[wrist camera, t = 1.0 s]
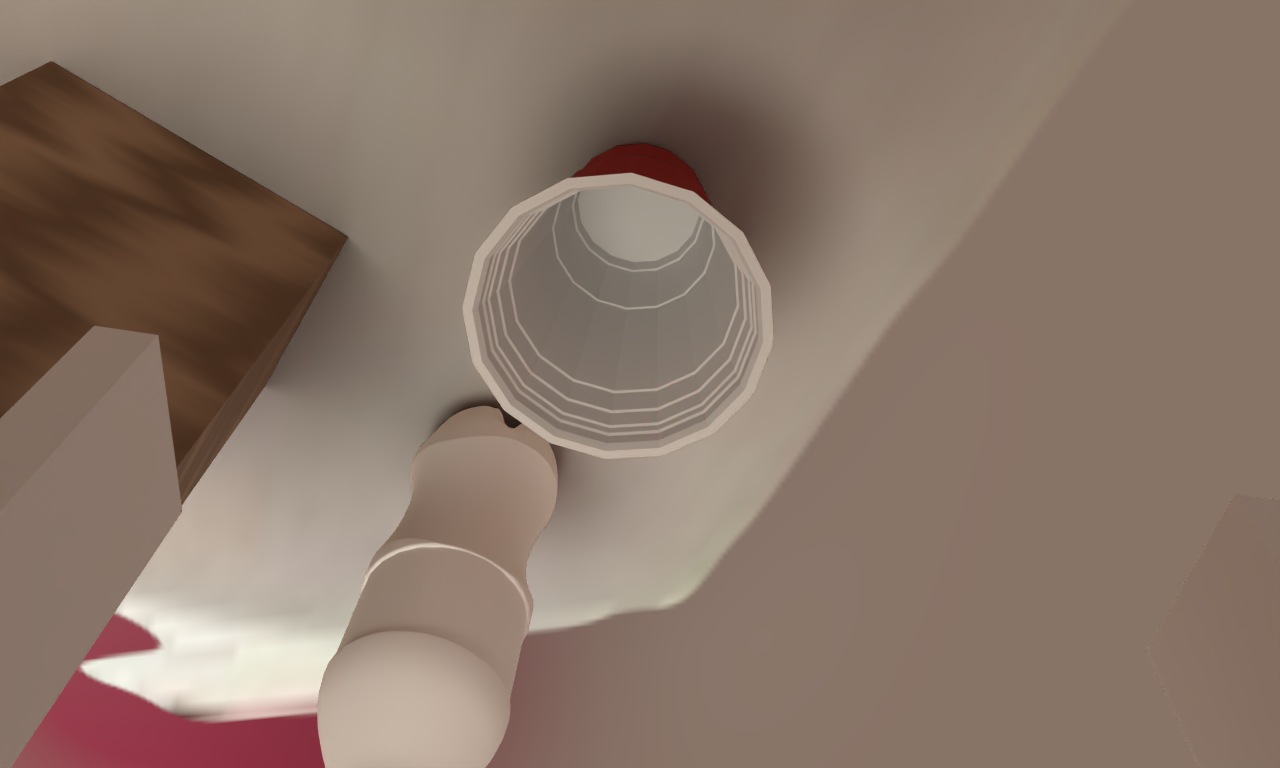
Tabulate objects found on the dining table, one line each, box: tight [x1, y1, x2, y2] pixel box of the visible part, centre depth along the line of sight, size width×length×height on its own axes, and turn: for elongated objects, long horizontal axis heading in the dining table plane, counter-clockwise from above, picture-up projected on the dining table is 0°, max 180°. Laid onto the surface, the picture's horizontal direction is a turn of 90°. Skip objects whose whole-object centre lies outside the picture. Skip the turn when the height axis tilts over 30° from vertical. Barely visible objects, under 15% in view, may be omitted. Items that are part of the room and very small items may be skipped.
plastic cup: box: [462, 143, 774, 459], centre depth 41 cm, size 11×11×12 cm
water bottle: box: [317, 406, 558, 768], centre depth 43 cm, size 7×7×25 cm
